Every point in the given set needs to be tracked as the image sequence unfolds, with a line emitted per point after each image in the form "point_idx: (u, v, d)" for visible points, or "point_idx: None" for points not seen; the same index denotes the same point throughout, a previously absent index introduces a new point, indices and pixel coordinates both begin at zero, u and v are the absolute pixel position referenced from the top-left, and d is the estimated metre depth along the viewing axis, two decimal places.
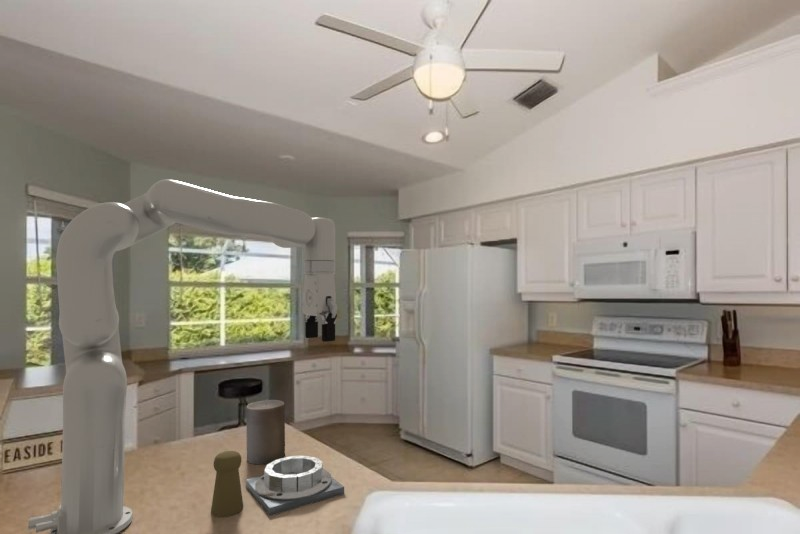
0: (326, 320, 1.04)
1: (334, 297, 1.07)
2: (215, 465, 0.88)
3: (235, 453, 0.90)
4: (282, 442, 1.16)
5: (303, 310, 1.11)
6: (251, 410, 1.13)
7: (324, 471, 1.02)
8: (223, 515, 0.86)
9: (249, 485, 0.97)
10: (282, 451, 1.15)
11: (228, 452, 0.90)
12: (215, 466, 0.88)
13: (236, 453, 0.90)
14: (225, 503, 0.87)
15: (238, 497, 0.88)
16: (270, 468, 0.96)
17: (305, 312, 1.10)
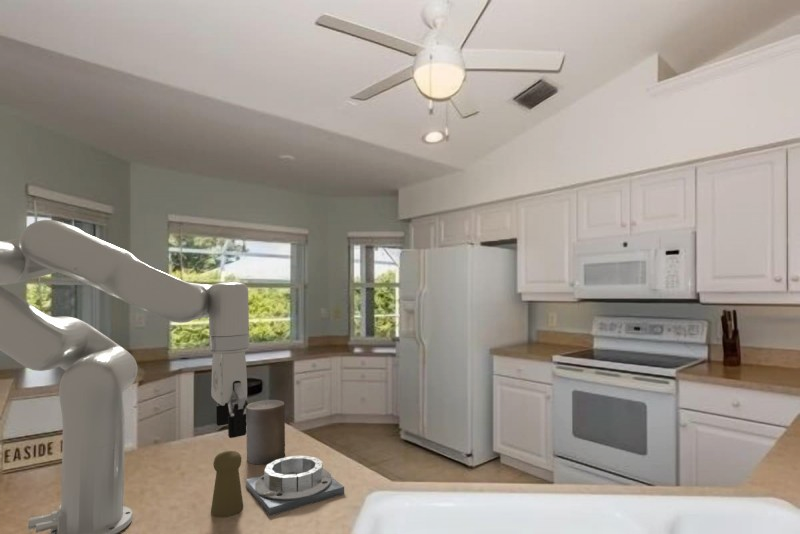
0: (232, 412, 0.85)
1: (244, 381, 0.87)
2: (215, 465, 0.88)
3: (235, 453, 0.90)
4: (282, 442, 1.16)
5: (211, 393, 0.92)
6: (251, 410, 1.13)
7: (324, 471, 1.02)
8: (223, 515, 0.86)
9: (249, 485, 0.97)
10: (282, 451, 1.15)
11: (228, 452, 0.90)
12: (215, 466, 0.88)
13: (236, 453, 0.90)
14: (225, 503, 0.87)
15: (238, 497, 0.88)
16: (270, 468, 0.96)
17: (213, 397, 0.91)
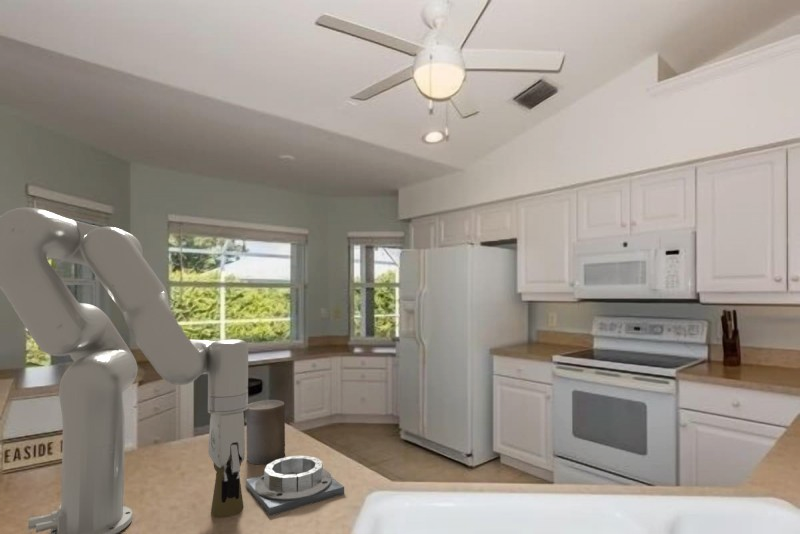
0: (226, 477, 0.86)
1: (242, 442, 0.87)
2: (215, 465, 0.88)
3: None
4: (282, 442, 1.16)
5: (209, 451, 0.91)
6: (251, 410, 1.13)
7: (324, 471, 1.02)
8: (223, 515, 0.86)
9: (249, 485, 0.97)
10: (282, 451, 1.15)
11: None
12: (215, 466, 0.88)
13: None
14: (225, 503, 0.87)
15: None
16: (270, 468, 0.96)
17: (210, 455, 0.90)
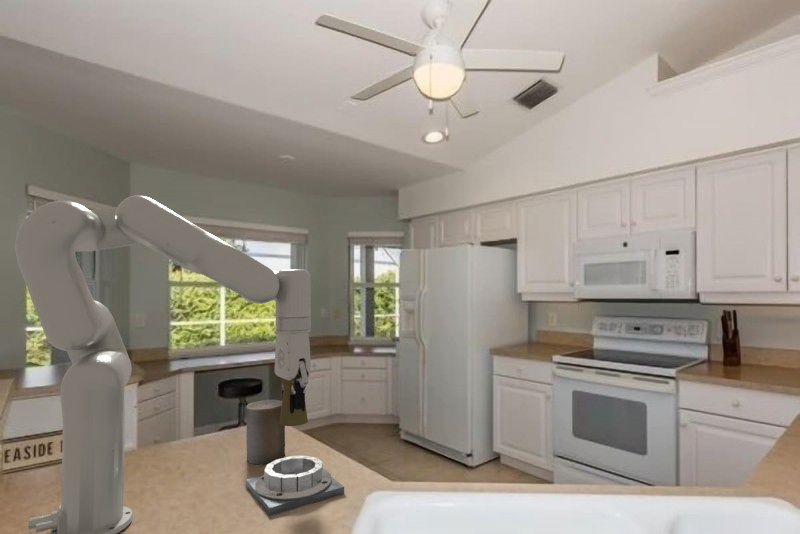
0: (294, 390, 0.95)
1: (308, 359, 0.96)
2: (283, 380, 0.96)
3: None
4: (282, 442, 1.16)
5: (275, 371, 1.00)
6: (251, 410, 1.13)
7: (324, 471, 1.02)
8: (292, 424, 0.95)
9: (249, 485, 0.97)
10: (282, 451, 1.15)
11: None
12: (283, 381, 0.96)
13: None
14: (293, 414, 0.96)
15: None
16: (270, 468, 0.96)
17: (277, 374, 0.99)
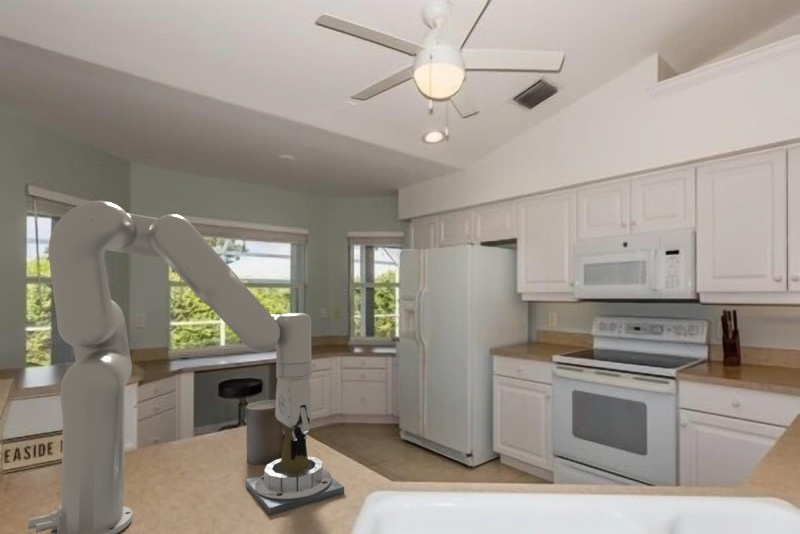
0: (295, 437, 0.95)
1: (309, 405, 0.95)
2: (284, 426, 0.96)
3: None
4: (282, 442, 1.16)
5: (276, 415, 1.00)
6: (251, 410, 1.13)
7: (324, 471, 1.02)
8: (293, 471, 0.95)
9: (249, 485, 0.97)
10: (282, 451, 1.15)
11: None
12: (284, 427, 0.96)
13: None
14: (295, 460, 0.95)
15: (305, 456, 0.97)
16: (270, 468, 0.96)
17: (278, 418, 0.98)
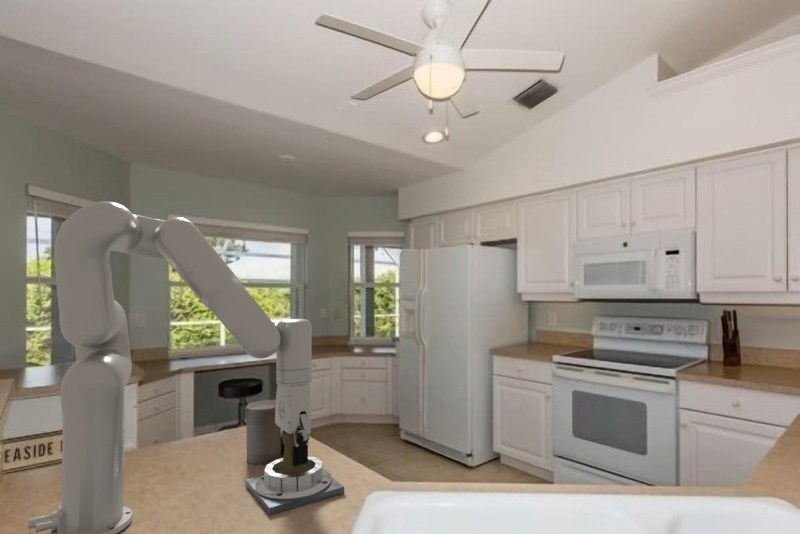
0: (297, 443, 0.94)
1: (309, 411, 0.95)
2: (284, 440, 0.96)
3: (301, 429, 0.98)
4: None
5: (276, 421, 1.00)
6: (251, 410, 1.13)
7: (324, 471, 1.02)
8: None
9: (249, 485, 0.97)
10: None
11: None
12: (284, 440, 0.96)
13: None
14: None
15: (305, 469, 0.97)
16: (270, 468, 0.96)
17: (278, 424, 0.98)
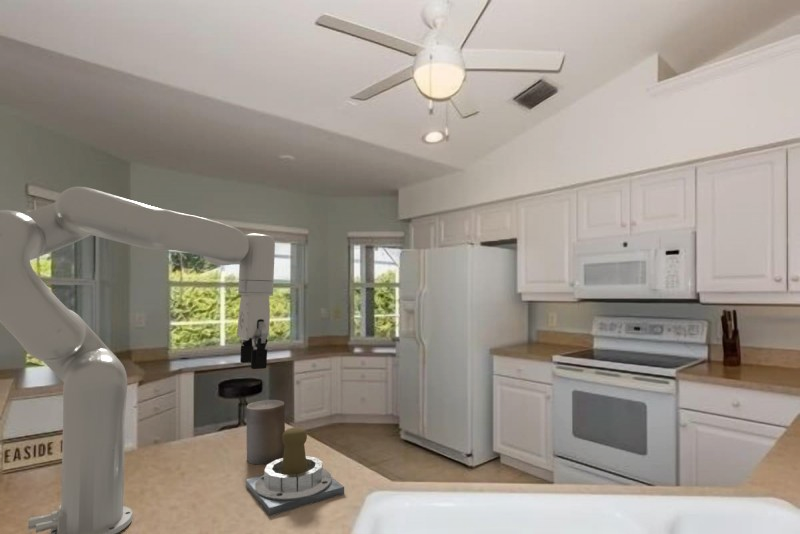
0: (256, 346, 0.96)
1: (267, 320, 0.98)
2: (284, 439, 0.96)
3: (301, 429, 0.98)
4: (282, 442, 1.16)
5: (237, 333, 1.03)
6: (251, 410, 1.13)
7: (324, 471, 1.02)
8: None
9: (249, 485, 0.97)
10: (282, 451, 1.15)
11: (295, 428, 0.98)
12: (284, 440, 0.96)
13: (302, 429, 0.98)
14: None
15: (305, 469, 0.97)
16: (270, 468, 0.96)
17: (239, 335, 1.02)
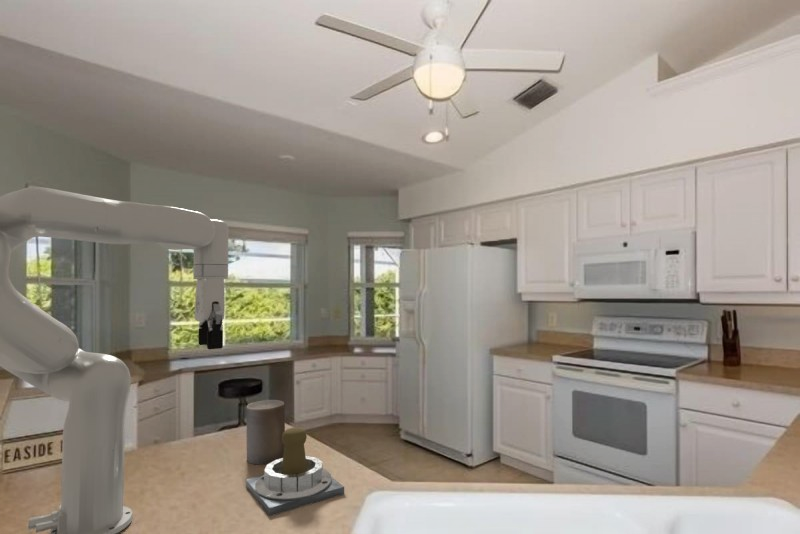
0: (211, 327, 0.99)
1: (222, 302, 1.02)
2: (284, 440, 0.96)
3: (301, 429, 0.98)
4: (282, 442, 1.16)
5: (194, 316, 1.06)
6: (251, 410, 1.13)
7: (324, 471, 1.02)
8: None
9: (249, 485, 0.97)
10: (282, 451, 1.15)
11: (294, 428, 0.98)
12: (284, 440, 0.96)
13: (302, 429, 0.98)
14: None
15: (305, 469, 0.97)
16: (270, 468, 0.96)
17: (195, 318, 1.05)
